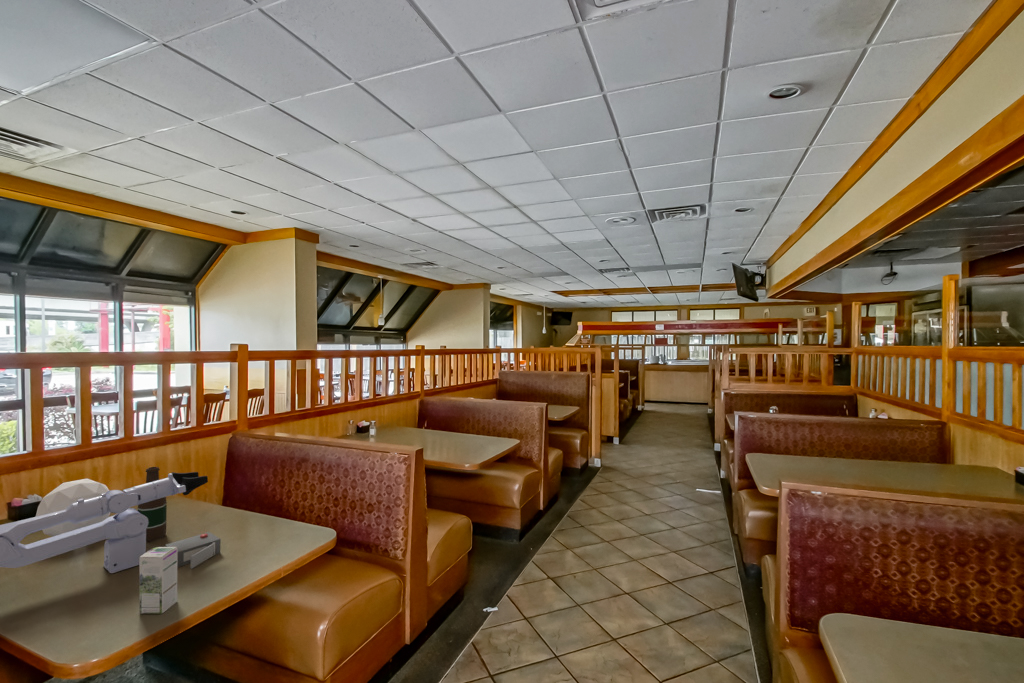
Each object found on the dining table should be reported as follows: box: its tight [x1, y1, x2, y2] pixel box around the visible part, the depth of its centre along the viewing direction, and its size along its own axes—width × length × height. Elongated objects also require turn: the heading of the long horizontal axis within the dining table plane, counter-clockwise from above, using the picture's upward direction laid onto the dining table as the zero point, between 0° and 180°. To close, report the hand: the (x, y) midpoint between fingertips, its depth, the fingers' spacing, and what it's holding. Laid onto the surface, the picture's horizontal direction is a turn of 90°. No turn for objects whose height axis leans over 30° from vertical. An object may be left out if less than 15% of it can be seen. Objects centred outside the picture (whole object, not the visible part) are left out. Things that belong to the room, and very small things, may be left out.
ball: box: [35, 478, 112, 537], centre depth 156 cm, size 19×20×20 cm
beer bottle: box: [137, 466, 168, 543], centre depth 155 cm, size 8×8×24 cm
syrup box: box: [138, 546, 178, 615], centre depth 114 cm, size 6×6×14 cm
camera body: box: [164, 531, 221, 568], centre depth 141 cm, size 13×9×5 cm
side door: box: [190, 542, 216, 569], centre depth 138 cm, size 9×1×4 cm, turn 174°
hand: (202, 476), depth 153 cm, fingers open, 7 cm apart
